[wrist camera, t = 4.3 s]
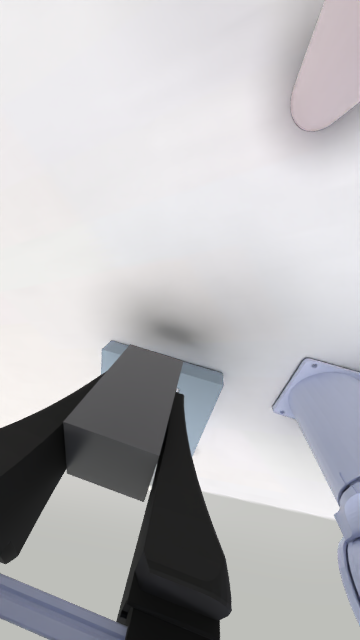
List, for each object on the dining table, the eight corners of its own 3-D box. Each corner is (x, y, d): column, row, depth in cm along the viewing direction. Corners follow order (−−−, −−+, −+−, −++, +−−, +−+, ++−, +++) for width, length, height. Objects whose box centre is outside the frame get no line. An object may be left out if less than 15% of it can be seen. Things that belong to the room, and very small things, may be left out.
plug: (183, 361, 12) (159, 455, 6) (170, 402, 14) (143, 504, 8) (130, 344, 12) (63, 421, 7) (124, 387, 14) (67, 475, 8)
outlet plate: (222, 373, 20) (226, 419, 15) (189, 450, 27) (184, 502, 21) (111, 340, 21) (76, 372, 15) (106, 423, 27) (80, 466, 22)
